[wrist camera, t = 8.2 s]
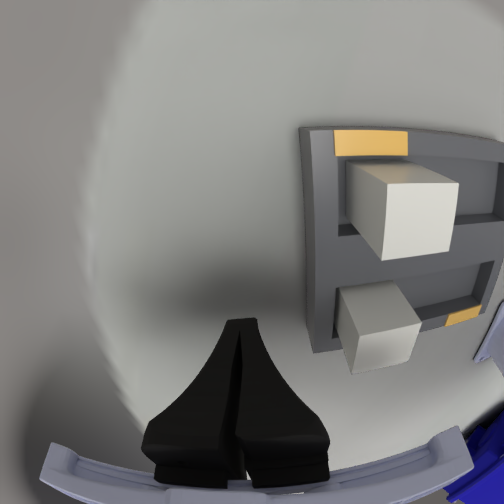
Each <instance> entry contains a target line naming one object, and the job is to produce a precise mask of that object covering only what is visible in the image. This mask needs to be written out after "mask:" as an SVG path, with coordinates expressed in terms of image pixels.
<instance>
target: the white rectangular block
mask: <svg viewBox="0 0 504 504" xmlns="http://www.w3.org/2000/svg"><path fill="white" fill-rule="evenodd" d="M458 188H459V183H457V182H455V181H453V180H451V179H449V178H447V177H445V176H443V175H440V174H438V173H436V172H434V171H431V170H429V169H427V168H424V167H422V166H420V165H417V164H415V163H412V162H410V161H407V160H390V159H384V160H346V217H347V219H348V220H349V221H350V222H351V223H352V225H353V226H354V227H355V228H356V229H357V231H358V232H359V233H360V234H361V236H362V237H363V238H364V239H365V240H366V242H367V243H368V244H369V245H370V247H371V248H372V249H373V250H374V252H375V253H376V254H377V256H378V257H379V258H380V259H381V261H383V260H390V259H398V258H405V257H412V256H420V255H427V254H433V253H440V252H447V251H449V247H450V242H451V237H452V231H453V225H454V219H455V212H456V205H457V197H458Z"/></svg>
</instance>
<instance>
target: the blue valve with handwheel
mask: <svg viewBox="0 0 504 504" xmlns="http://www.w3.org/2000/svg"><path fill="white" fill-rule="evenodd" d="M465 443H466V446H467V448H468V451H469V453H470V456H471V459H472V461H473V464H474V468H473V469H472V470H471V471H469V472H468V473H466V474H465V475H463V476H462V477H460V478H459V479H457V480H456V481H454V482H452V483H451V484H449V485H447V486H445V487H443V489H444V490H446V491H447V492H448V493H449V495H448V496H447V498H446V499H447V500H448V501H449V502H451V503H452V502H454V503H456V502H457V500H458V499H459V500H461V501H462V502H464V503H465V504H504V410H503V411H502V413H501V414H500V415H499V416H498V417H497V418H496V419H495V420H494V422H493V423H492V424H491V425H490V426H489V427H488V428H487V429H484V428H483V427H481V426H480V425H478V426H477V427H476V429H475V430H474V431H473V433H472V434H471V435H470V436H469V437H468V438H467V439H466V440H465Z"/></svg>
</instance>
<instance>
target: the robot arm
mask: <svg viewBox="0 0 504 504" xmlns="http://www.w3.org/2000/svg"><path fill="white" fill-rule="evenodd" d="M489 357H492V359H493V360H494V362H495V363H496V365H497V366H498V368H499V370H500V371H501V373H502V374H503V376H504V302H503V303H502V304H501V305H500V307H499V310H498V312H497V314H496V316H495V319H494V321H493V323H492V325H491V327H490V329H489V331H488V333H487V335H486V337H485V339H484V341H483V343H482V345H481V347H480V349H479V351H478V353H477V355H476V356H475V358H474V363H478V362H480V361H482V360H485V359H487V358H489ZM329 445H330V438H329V435H328V433H327V431H326V429H325V427H324V425H323V423H322V422H321V420H320V418H319V417H318V416H317V415H316V414H315V413H314V412H313V411H312V410H311V409H310V408H309V407H308V406H306V405H305V403H304V402H303V401H302V400H301V399H300V398H299V397H298V396H297V395H296V394H295V392H294V391H293V390H292V389H291V388H290V387H289V385H288V384H287V383H286V381H285V380H284V379H283V377H282V376H281V374H280V373H279V371H278V370H277V368H276V367H275V365H274V363H273V361H272V360H271V358H270V356H269V354H268V352H267V350H266V348H265V346H264V343H263V341H262V339H261V336H260V333H259V329H258V323H257V319H256V318H243V319H231V320H228V321H227V322H226V325H225V327H224V330H223V332H222V334H221V336H220V338H219V341H218V343H217V344H216V346H215V348H214V350H213V352H212V354H211V355H210V357H209V359H208V360H207V362H206V363H205V365H204V367H203V368H202V370H201V371H200V372H199V374H198V375H197V376H196V378H195V379H194V380H193V382H192V383H191V384H190V385H189V386H188V387H187V389H186V390H185V391H184V392H183V393H182V394H181V395H180V396H179V397H178V398H177V399H176V400H175V401H174V402H173V403H172V404H171V405H170V406H169V407H167V408H166V409H165V410H164V411H163V412H161V413H160V414H159V415H157V416H156V417H155V418H153V419H152V420H151V421H149V423H148V425H147V428H146V431H145V433H144V438H143V442H142V446H141V450H142V452H143V453H144V454H145V455H146V456H147V457H148V458H149V459H150V460H152V461H153V462H154V463H155V464H156V468H155V473H154V474H153V473H147V472H141V471H136V470H131V469H126V468H121V467H117V466H113V465H109V464H105V463H101V462H98V461H94V460H91V459H87V458H84V457H81V456H78V455H77V454H76V453H75V452H74V451H72V450H71V449H69V448H67V447H64V446H61V445H59V444H56V443H53V442H52V443H51V445H50V448H49V451H48V454H47V456H46V459H45V462H44V465H43V468H42V472H41V474H40V480H42V481H43V482H45V483H46V484H48V485H50V486H52V487H53V488H55V489H57V490H59V491H61V492H63V493H64V494H66V495H68V496H71V497H73V498H75V499H78V500H80V501H82V502H85V503H88V504H407V503H409V502H412V501H414V500H417V499H419V498H421V497H424V496H426V495H428V494H430V493H433V492H434V491H437V490H439V489H441V488H443V487H445V486H447V485H449V484H451V483H452V482H454V481H456V480H457V479H459V478H460V477H462V476H463V475H465V474H466V473H468V472H469V471H471V470H472V469H473V468H474V464H473V461H472V459H471V456H470V453H469V451H468V448H467V446H466V443H465V441H464V438H463V436H462V433H461V431H460V429H459V426H455V427H452V428H450V429H448V430H446V431H444V432H441V433H439V434H437V435H435V436H434V437H433V438H431V439H430V440H429V442H428V443H427V444H425V445H422V446H419V447H417V448H414V449H411V450H409V451H406V452H403V453H400V454H397V455H394V456H391V457H387V458H384V459H381V460H377V461H374V462H370V463H366V464H362V465H358V466H354V467H349V468H345V469H340V470H335V471H330V472H329V466H328V461H329V460H328V453H327V451H328V448H329ZM246 470H247V472H248V474H249V476H250V478H251V480H247V474H246ZM301 492H304V494H292V493H301ZM282 494H286V495H282Z"/></svg>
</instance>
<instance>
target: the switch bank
mask: <svg viewBox="0 0 504 504" xmlns="http://www.w3.org/2000/svg"><path fill="white" fill-rule="evenodd" d="M299 137H300V149H301V162H302V176H303V193H304V212H305V237H306V280H307V329H308V333H309V338H310V342H311V346H312V351H313V353H320V352H326V351H333V350H339V349H343V347H342V344H341V341H340V338H339V335H338V332H337V329H336V326H335V323H334V308H335V295H336V288H337V287H345V286H352V285H359V284H366V283H373V282H379V281H386V280H392V279H393V281H394V282H395V284H396V285H397V286H398V288H399V289H400V291H401V292H402V294H403V295H404V296H405V298H406V299H407V301H408V302H409V304H410V305H411V307H412V308H413V310H414V311H415V313H416V314H417V316H418V317H419V319H420V320H421V322H422V324H421V327H420V330H419V332H423V331H427V330H431V329H434V328H438V327H441V326H445V327H446V326H449V325H453V324H456V323H459V322H462V321H465V320H468V319H471V318H474V317H477V316H478V315H479V314H482V313H484V312H485V310H486V307H487V305H488V302H489V300H490V297H491V295H492V292H493V289H494V286H495V283H496V281H497V278H498V275H499V271H500V268H501V265H502V262H503V258H504V143H503V142H500V141H497V140H492V139H487V138H482V137H476V136H470V135H464V134H457V133H449V132H441V131H432V130H422V129H410V128H395V127H370V126H329V127H303V128H299ZM384 159H390V160H407V161H410V162H412V163H415V164H417V165H420V166H422V167H424V168H427V169H429V170H431V171H434V172H436V173H438V174H440V175H443V176H445V177H447V178H449V179H451V180H453V181H455V182H457V183H459V188H458V197H457V205H456V212H455V219H454V225H453V231H452V237H451V242H450V247H449V251H447V252H440V253H433V254H427V255H420V256H412V257H405V258H398V259H390V260H383V261H381V259H380V258H379V257H378V256H377V254H376V253H375V252H374V250H373V249H372V248H371V247H370V245H369V244H368V243H367V242H366V240H365V239H364V238H363V237H362V236H361V234H360V233H359V232H358V231H357V229H356V228H355V227H354V226H353V225H352V223H351V222H350V221H349V220H348V219H347V217H346V160H384Z"/></svg>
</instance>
